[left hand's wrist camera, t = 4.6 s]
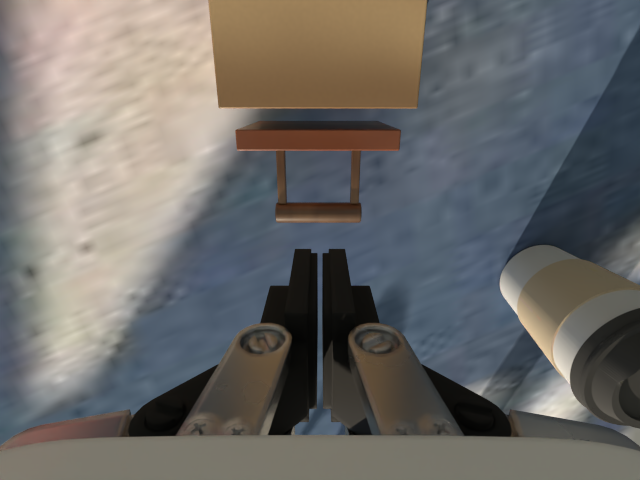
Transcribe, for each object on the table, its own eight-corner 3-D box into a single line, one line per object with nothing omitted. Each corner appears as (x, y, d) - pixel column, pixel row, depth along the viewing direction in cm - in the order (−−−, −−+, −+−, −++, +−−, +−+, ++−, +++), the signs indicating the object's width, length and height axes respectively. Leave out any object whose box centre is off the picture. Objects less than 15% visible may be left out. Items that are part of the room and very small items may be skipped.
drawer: (373, 206, 32) (392, 243, 24) (263, 206, 32) (244, 243, 24) (393, -156, 23) (434, -296, 15) (242, -156, 23) (200, -296, 15)
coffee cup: (601, 272, 35) (787, 385, 21) (527, 332, 38) (650, 469, 24) (543, 214, 33) (707, 299, 19) (469, 282, 36) (565, 400, 22)
